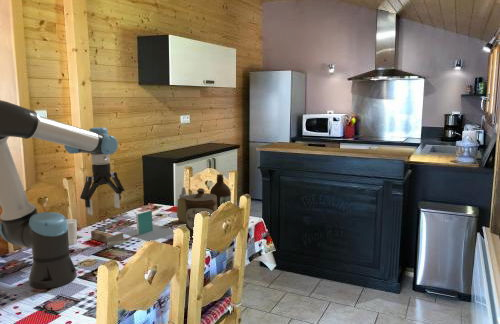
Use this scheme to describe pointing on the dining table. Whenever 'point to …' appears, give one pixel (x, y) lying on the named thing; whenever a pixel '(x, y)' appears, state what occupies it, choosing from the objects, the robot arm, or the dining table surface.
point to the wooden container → (199, 206)
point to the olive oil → (221, 191)
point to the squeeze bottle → (182, 206)
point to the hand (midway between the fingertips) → (104, 211)
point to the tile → (144, 222)
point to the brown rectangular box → (107, 238)
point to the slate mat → (151, 233)
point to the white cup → (72, 231)
